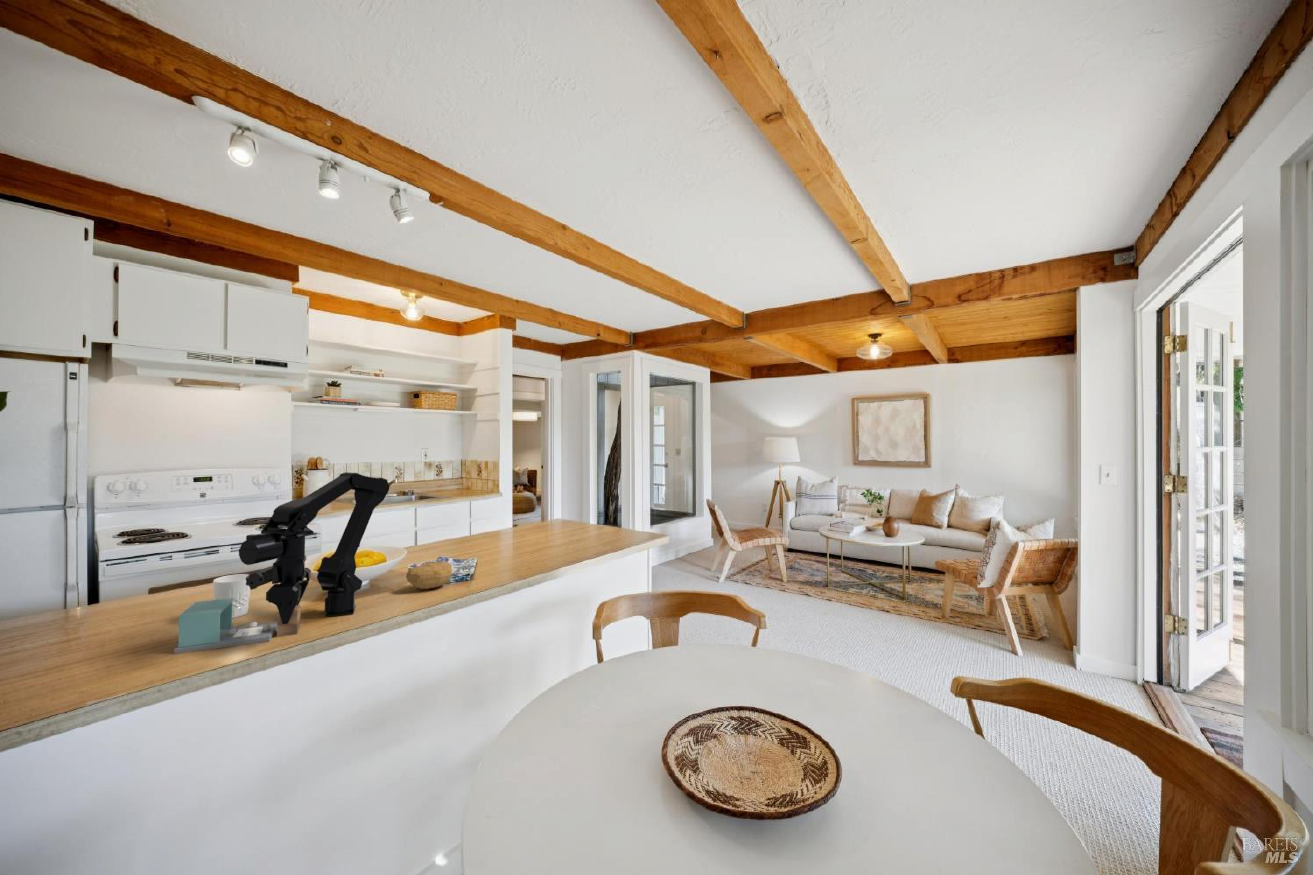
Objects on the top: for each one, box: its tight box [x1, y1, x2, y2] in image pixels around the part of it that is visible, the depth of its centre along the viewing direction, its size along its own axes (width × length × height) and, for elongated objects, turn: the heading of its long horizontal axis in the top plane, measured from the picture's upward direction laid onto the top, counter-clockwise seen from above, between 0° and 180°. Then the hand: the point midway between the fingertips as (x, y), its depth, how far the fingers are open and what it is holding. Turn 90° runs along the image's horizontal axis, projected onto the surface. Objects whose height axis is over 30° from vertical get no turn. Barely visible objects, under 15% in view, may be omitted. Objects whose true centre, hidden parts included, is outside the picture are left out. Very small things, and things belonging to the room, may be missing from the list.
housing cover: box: [177, 598, 233, 648], centre depth 116 cm, size 7×10×7 cm
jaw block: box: [276, 604, 301, 638], centre depth 122 cm, size 4×4×6 cm
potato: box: [405, 561, 453, 590], centre depth 160 cm, size 10×14×8 cm
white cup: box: [212, 573, 251, 619], centre depth 133 cm, size 8×8×10 cm
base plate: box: [173, 621, 277, 655], centre depth 118 cm, size 17×11×2 cm, turn 117°
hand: (289, 617), depth 123 cm, fingers open, 9 cm apart
